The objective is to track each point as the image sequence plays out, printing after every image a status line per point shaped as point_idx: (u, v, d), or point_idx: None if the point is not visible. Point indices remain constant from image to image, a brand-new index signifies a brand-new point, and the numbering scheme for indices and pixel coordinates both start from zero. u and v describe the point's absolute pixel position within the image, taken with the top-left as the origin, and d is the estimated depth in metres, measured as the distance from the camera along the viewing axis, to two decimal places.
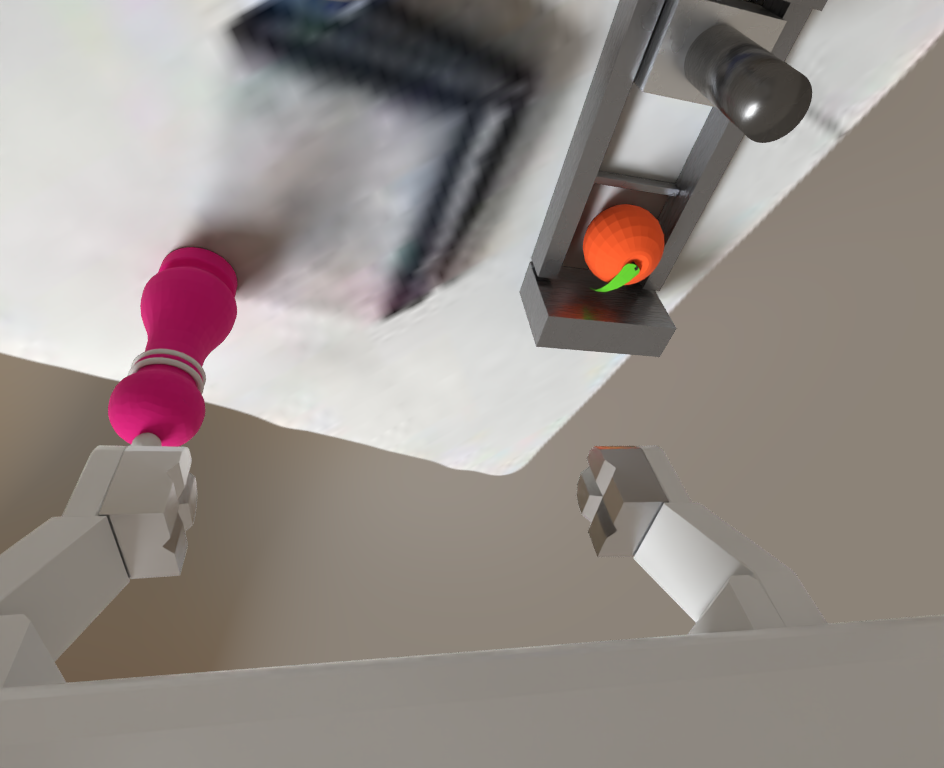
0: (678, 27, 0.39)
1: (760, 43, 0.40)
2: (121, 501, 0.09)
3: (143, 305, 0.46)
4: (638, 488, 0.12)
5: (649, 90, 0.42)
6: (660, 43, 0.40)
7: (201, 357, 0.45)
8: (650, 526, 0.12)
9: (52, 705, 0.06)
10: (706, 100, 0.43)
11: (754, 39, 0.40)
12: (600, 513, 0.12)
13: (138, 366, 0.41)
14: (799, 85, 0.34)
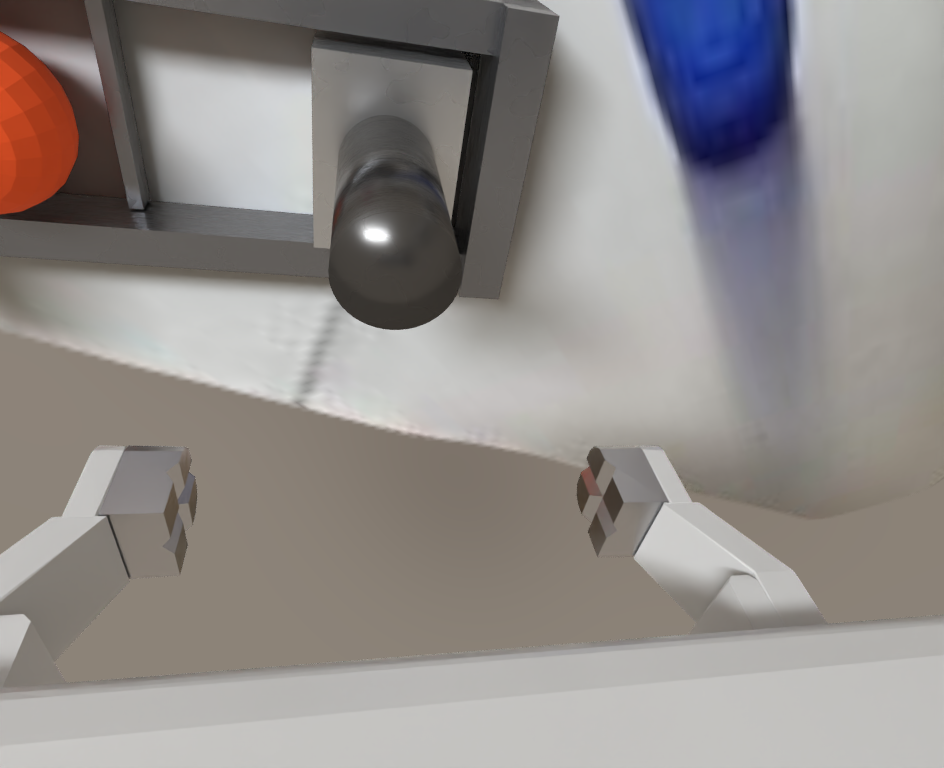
0: (424, 83, 0.23)
1: None
2: (121, 501, 0.09)
3: None
4: (638, 488, 0.12)
5: (316, 62, 0.22)
6: (395, 58, 0.22)
7: None
8: (650, 526, 0.12)
9: (52, 705, 0.06)
10: (320, 183, 0.25)
11: None
12: (600, 513, 0.12)
13: None
14: (439, 294, 0.18)
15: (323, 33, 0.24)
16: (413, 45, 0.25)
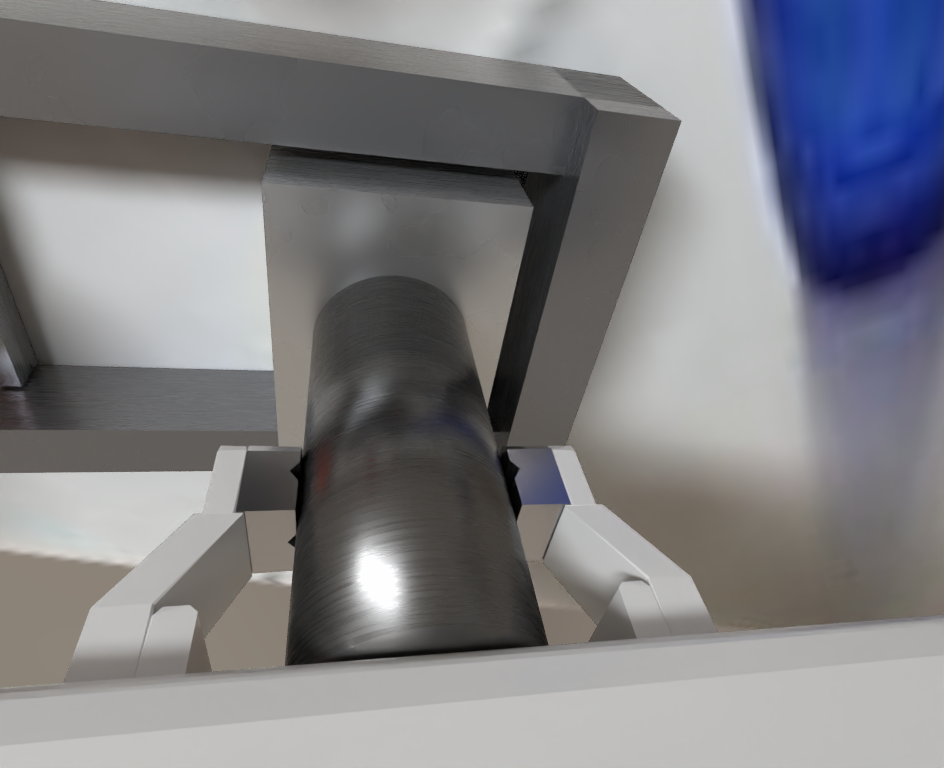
0: (454, 228, 0.14)
1: None
2: (254, 499, 0.10)
3: None
4: (540, 490, 0.11)
5: (271, 204, 0.13)
6: (406, 192, 0.13)
7: None
8: (555, 529, 0.11)
9: (52, 705, 0.06)
10: (285, 370, 0.16)
11: None
12: None
13: None
14: None
15: None
16: None
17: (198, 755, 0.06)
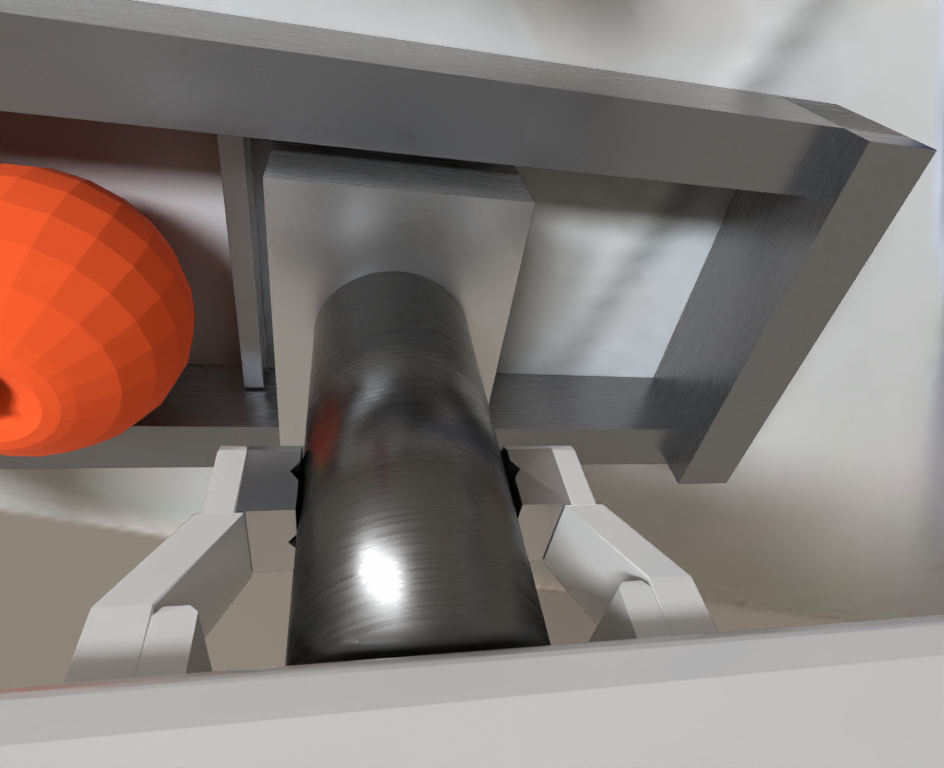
0: (455, 224, 0.14)
1: None
2: (254, 499, 0.10)
3: None
4: (541, 490, 0.11)
5: (272, 198, 0.13)
6: (407, 187, 0.13)
7: None
8: (555, 529, 0.11)
9: (52, 705, 0.06)
10: (286, 366, 0.16)
11: None
12: None
13: None
14: None
15: None
16: None
17: (198, 755, 0.06)
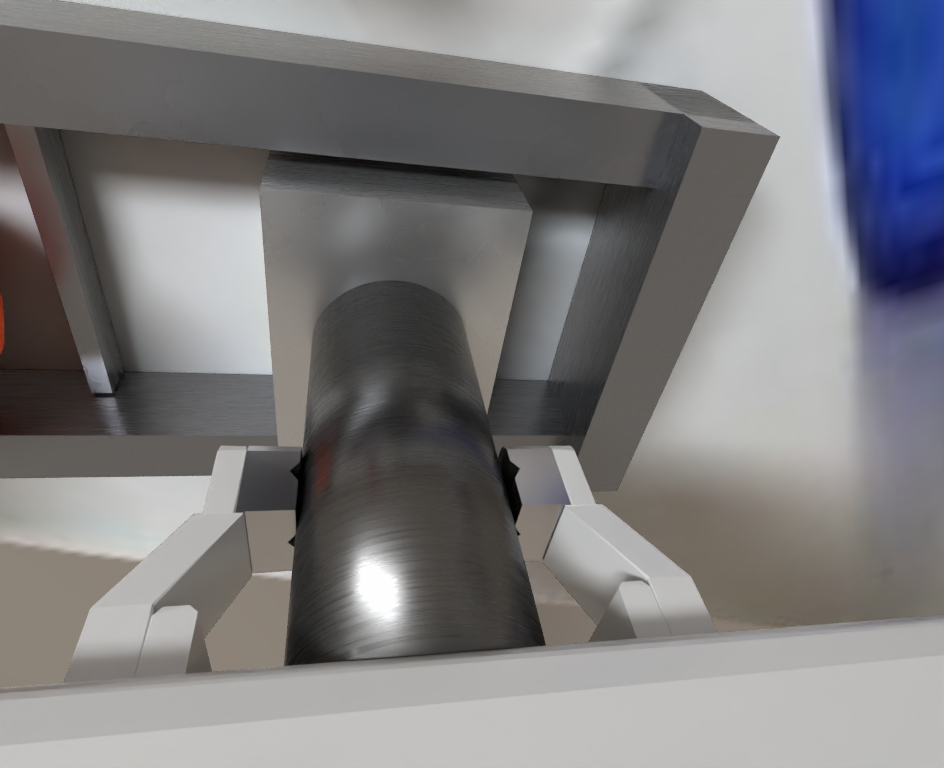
0: (453, 233, 0.14)
1: None
2: (254, 499, 0.10)
3: None
4: (540, 490, 0.11)
5: (269, 209, 0.13)
6: (405, 197, 0.13)
7: None
8: (555, 529, 0.11)
9: (52, 705, 0.06)
10: (284, 375, 0.16)
11: None
12: None
13: None
14: None
15: None
16: None
17: (198, 755, 0.06)
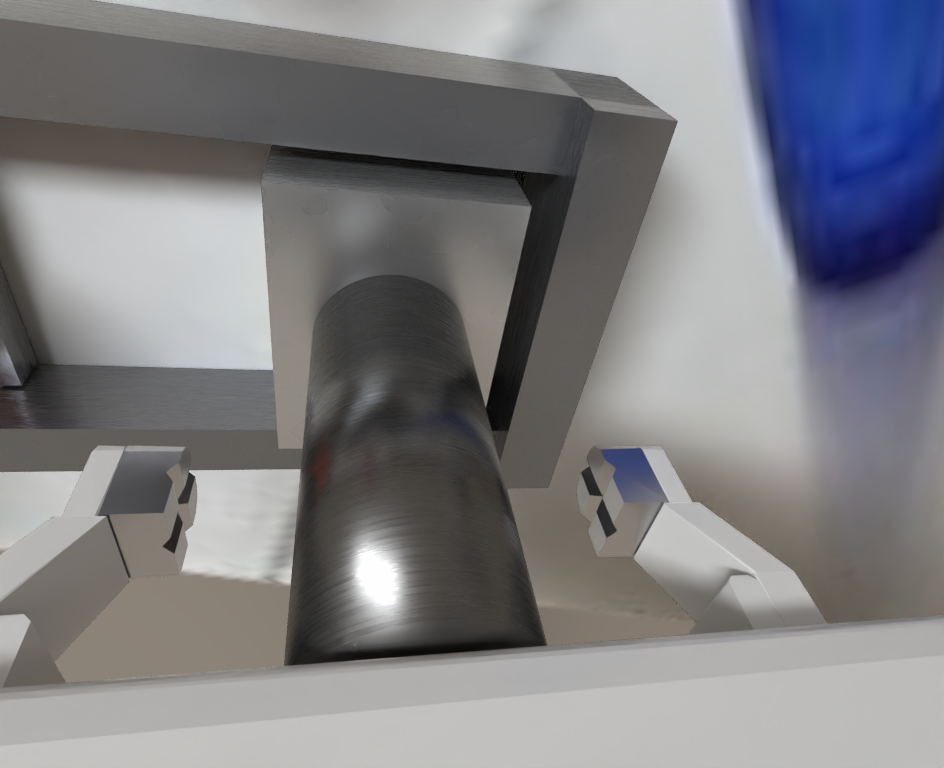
0: (453, 228, 0.14)
1: None
2: (121, 501, 0.09)
3: None
4: (638, 488, 0.12)
5: (270, 203, 0.13)
6: (405, 192, 0.13)
7: None
8: (651, 526, 0.12)
9: (52, 705, 0.06)
10: (285, 369, 0.16)
11: None
12: (600, 513, 0.12)
13: None
14: None
15: None
16: None
17: (198, 755, 0.06)
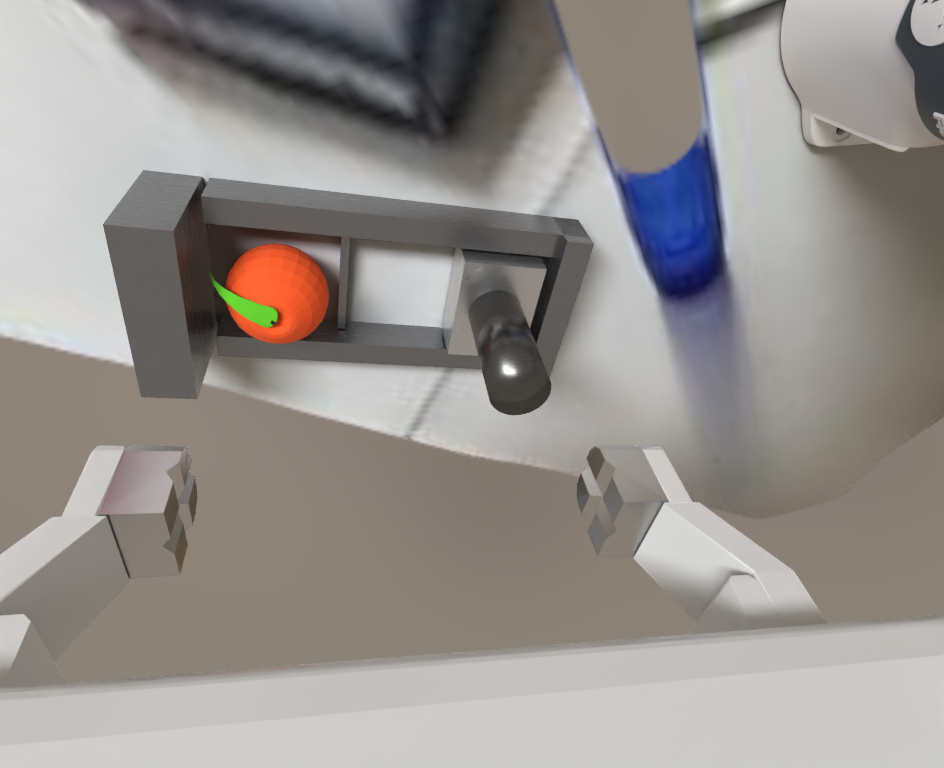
0: (520, 276, 0.42)
1: None
2: (121, 501, 0.09)
3: None
4: (638, 488, 0.12)
5: (466, 267, 0.41)
6: (506, 264, 0.42)
7: None
8: (650, 526, 0.12)
9: (52, 705, 0.06)
10: (457, 322, 0.44)
11: None
12: (600, 513, 0.12)
13: None
14: (538, 399, 0.38)
15: None
16: None
17: (198, 755, 0.06)
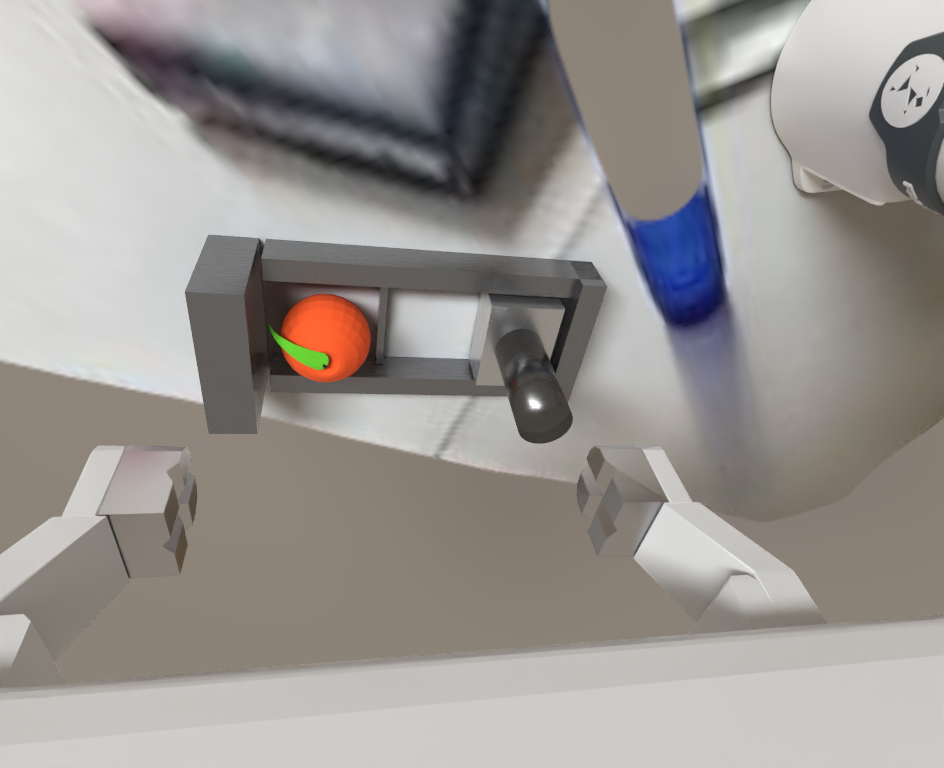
0: (541, 316, 0.47)
1: None
2: (121, 501, 0.09)
3: None
4: (638, 488, 0.12)
5: (493, 311, 0.46)
6: (529, 306, 0.47)
7: None
8: (651, 526, 0.12)
9: (52, 705, 0.06)
10: (485, 357, 0.49)
11: None
12: (600, 513, 0.12)
13: None
14: (561, 429, 0.43)
15: None
16: None
17: (198, 755, 0.06)
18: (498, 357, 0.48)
